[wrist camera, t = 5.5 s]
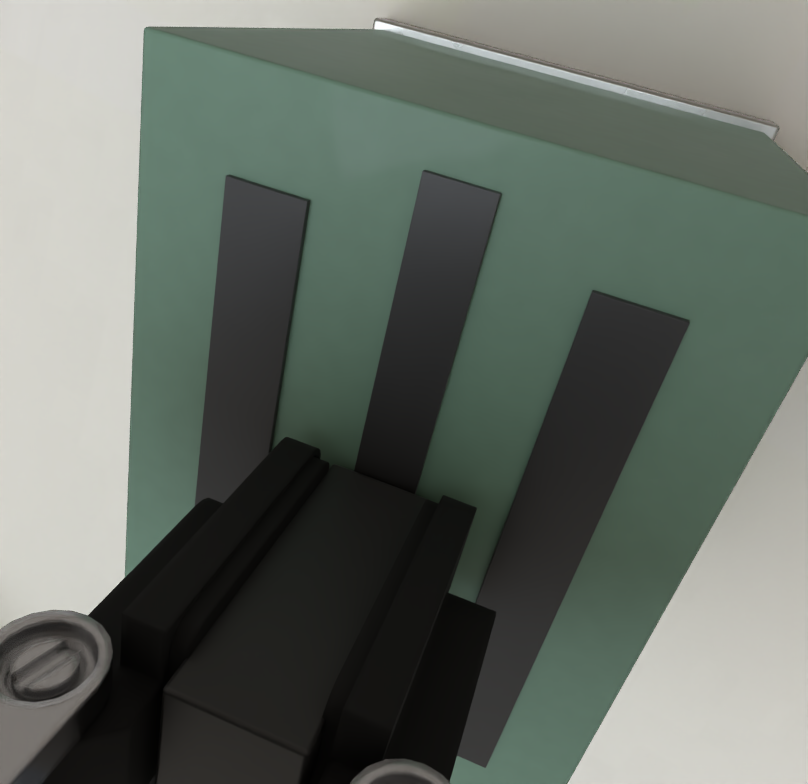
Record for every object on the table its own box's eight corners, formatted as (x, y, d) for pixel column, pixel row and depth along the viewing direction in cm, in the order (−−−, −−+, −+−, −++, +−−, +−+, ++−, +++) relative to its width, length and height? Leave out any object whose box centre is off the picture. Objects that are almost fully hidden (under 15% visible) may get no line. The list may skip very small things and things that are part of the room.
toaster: (775, 122, 16) (910, 225, 8) (586, 537, 22) (541, 857, 14) (384, 17, 18) (123, 3, 9) (308, 433, 24) (109, 661, 15)
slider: (432, 499, 11) (309, 755, 7) (398, 612, 12) (276, 885, 8) (332, 461, 11) (160, 688, 7) (308, 577, 12) (149, 823, 8)
